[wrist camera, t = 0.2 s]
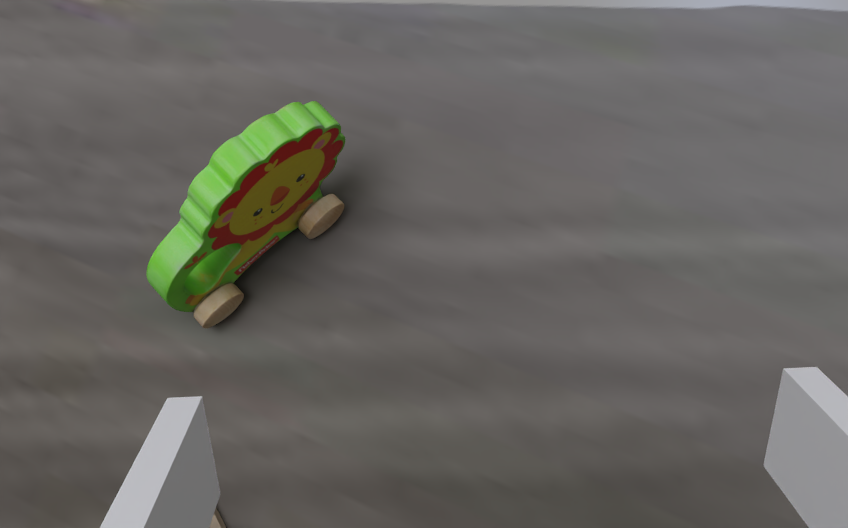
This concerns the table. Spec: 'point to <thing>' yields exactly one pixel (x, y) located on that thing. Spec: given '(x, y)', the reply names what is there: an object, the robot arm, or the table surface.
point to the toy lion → (248, 208)
